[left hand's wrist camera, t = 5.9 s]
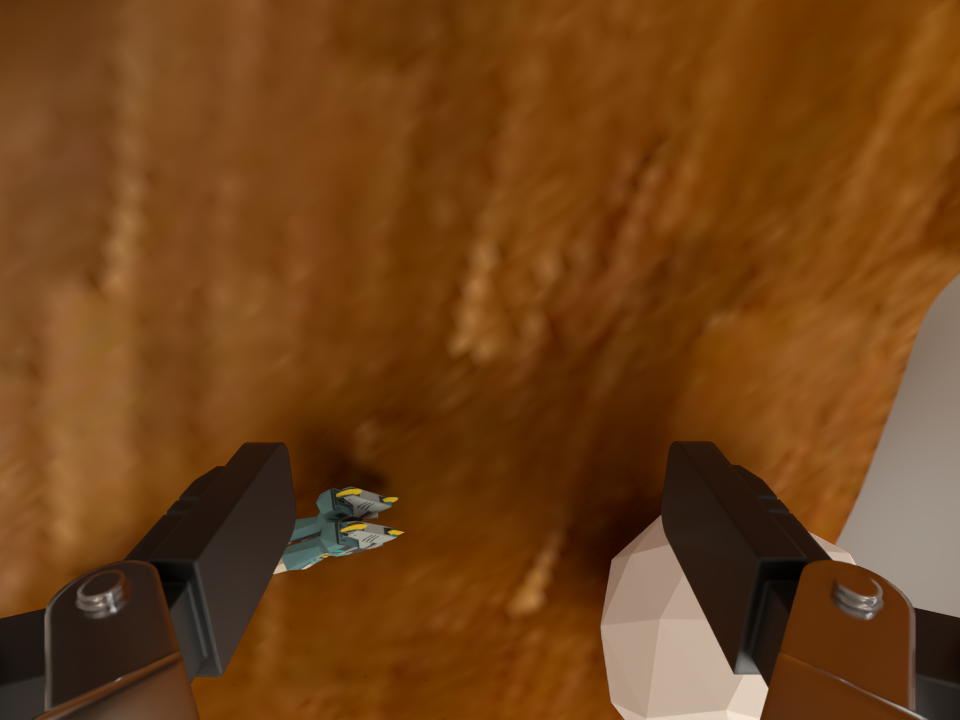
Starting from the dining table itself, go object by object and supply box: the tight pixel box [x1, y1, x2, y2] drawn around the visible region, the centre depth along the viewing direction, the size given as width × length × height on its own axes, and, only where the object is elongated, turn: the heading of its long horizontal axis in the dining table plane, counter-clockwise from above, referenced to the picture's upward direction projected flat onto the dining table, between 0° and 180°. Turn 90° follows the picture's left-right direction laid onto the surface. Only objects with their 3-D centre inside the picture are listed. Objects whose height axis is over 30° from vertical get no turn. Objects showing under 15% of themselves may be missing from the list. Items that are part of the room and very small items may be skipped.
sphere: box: [601, 515, 856, 720], centre depth 39 cm, size 19×20×20 cm
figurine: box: [273, 486, 404, 574], centre depth 44 cm, size 7×8×30 cm
